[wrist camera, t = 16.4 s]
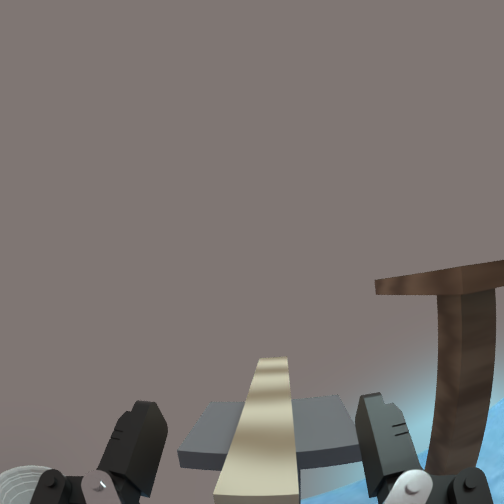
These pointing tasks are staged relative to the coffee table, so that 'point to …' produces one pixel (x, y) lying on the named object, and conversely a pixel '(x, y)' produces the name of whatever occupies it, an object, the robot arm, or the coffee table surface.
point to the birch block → (263, 443)
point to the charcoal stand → (305, 431)
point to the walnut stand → (458, 357)
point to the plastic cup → (19, 484)
